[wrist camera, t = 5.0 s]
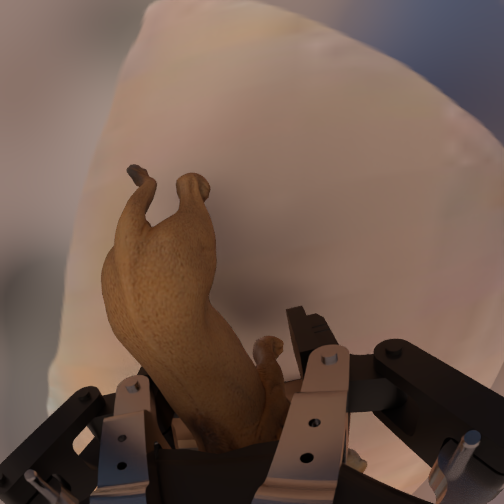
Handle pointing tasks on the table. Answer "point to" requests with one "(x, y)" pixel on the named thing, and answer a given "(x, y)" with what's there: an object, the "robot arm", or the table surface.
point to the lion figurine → (190, 324)
